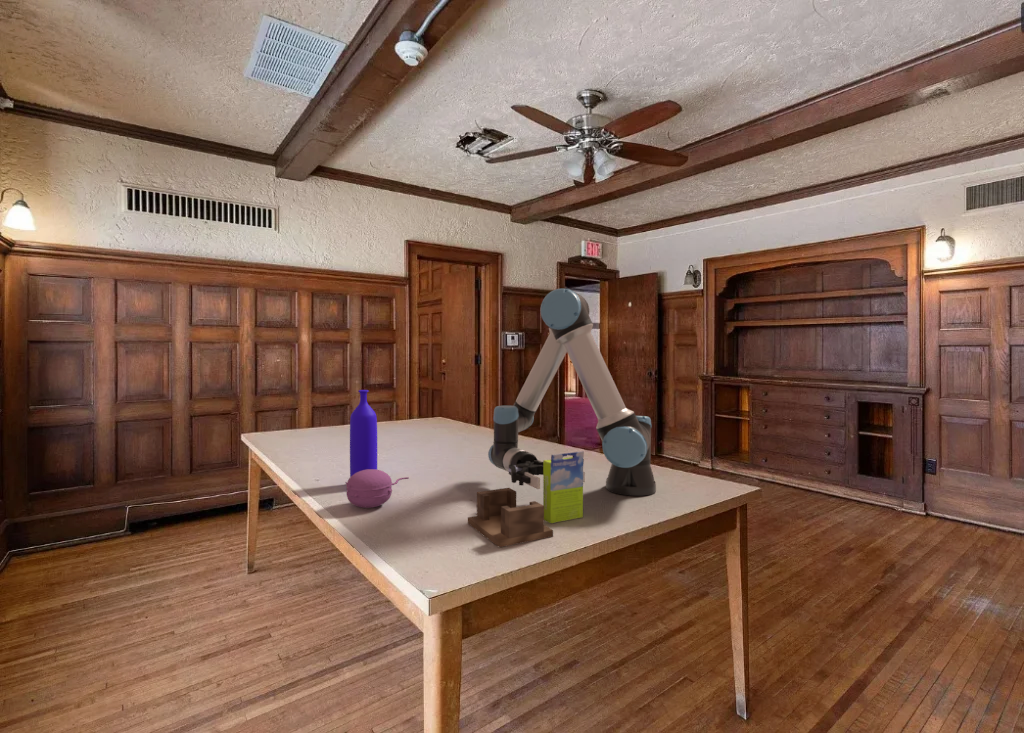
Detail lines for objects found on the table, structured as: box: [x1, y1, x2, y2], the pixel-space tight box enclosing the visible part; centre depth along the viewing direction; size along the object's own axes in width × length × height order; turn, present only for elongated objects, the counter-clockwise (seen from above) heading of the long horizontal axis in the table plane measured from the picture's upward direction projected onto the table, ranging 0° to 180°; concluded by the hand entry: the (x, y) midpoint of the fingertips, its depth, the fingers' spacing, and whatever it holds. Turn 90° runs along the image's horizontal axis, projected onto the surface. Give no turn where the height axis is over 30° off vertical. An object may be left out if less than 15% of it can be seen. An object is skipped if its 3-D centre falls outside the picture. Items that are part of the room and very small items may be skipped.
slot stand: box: [467, 487, 554, 548], centre depth 121 cm, size 14×17×8 cm
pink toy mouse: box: [345, 469, 410, 509], centre depth 140 cm, size 12×19×10 cm, turn 120°
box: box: [542, 450, 585, 524], centre depth 129 cm, size 10×4×17 cm, turn 119°
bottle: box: [349, 389, 378, 478], centre depth 159 cm, size 8×8×30 cm
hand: (561, 480), depth 129 cm, fingers open, 13 cm apart
